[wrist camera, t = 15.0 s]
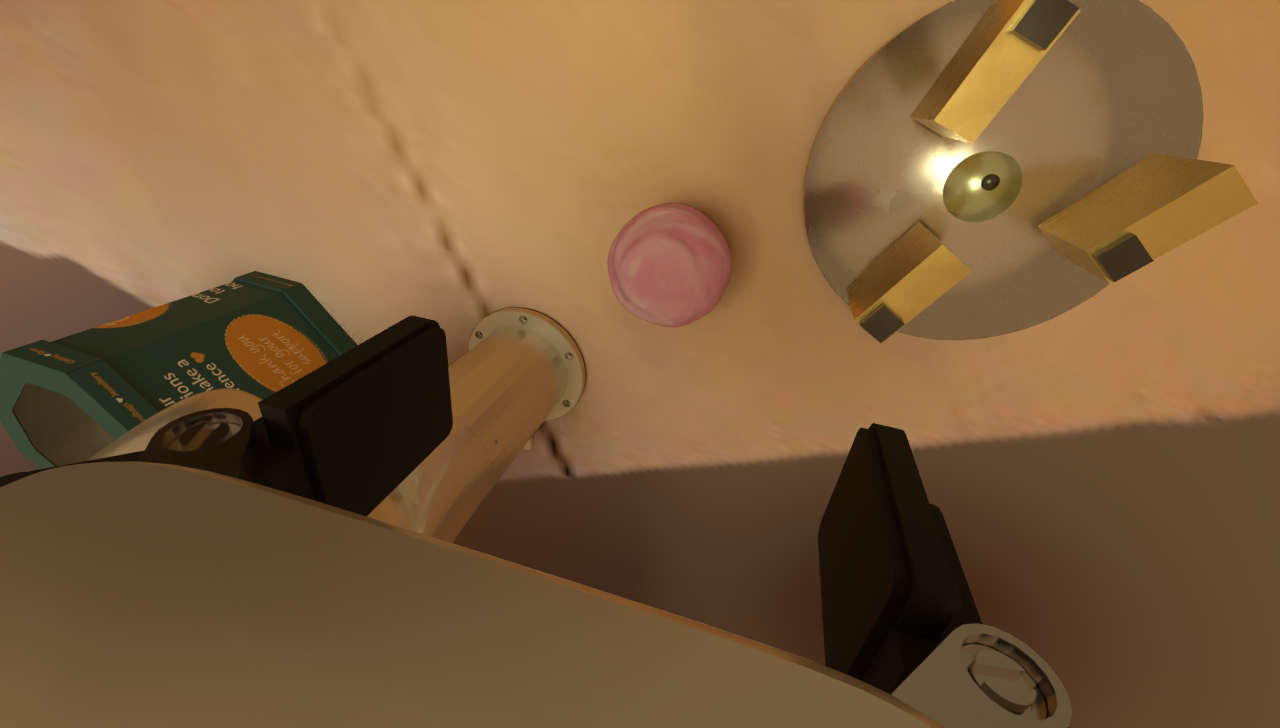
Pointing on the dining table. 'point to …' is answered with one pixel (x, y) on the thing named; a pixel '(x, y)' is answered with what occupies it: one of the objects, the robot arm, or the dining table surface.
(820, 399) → the dining table surface
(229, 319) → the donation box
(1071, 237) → the gold flat block
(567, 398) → the robot arm
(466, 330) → the dining table surface
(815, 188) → the plate
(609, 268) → the cupcake
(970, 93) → the gold rectangular block
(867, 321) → the golden block
